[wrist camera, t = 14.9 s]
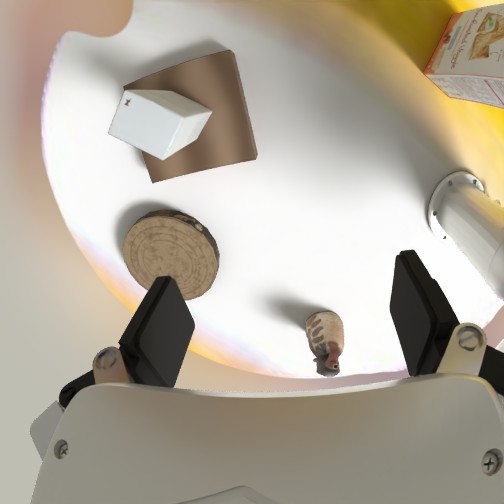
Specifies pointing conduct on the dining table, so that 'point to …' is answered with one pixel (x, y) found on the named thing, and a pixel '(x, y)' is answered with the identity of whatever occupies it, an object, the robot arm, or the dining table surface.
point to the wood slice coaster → (172, 252)
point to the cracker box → (471, 57)
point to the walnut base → (218, 124)
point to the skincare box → (158, 121)
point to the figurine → (326, 341)
